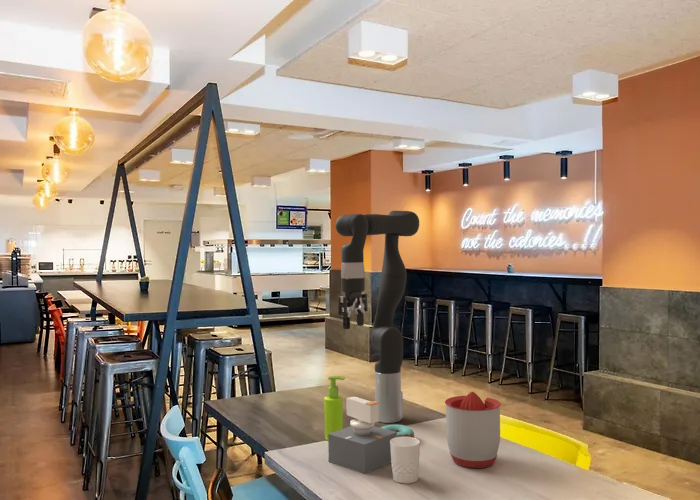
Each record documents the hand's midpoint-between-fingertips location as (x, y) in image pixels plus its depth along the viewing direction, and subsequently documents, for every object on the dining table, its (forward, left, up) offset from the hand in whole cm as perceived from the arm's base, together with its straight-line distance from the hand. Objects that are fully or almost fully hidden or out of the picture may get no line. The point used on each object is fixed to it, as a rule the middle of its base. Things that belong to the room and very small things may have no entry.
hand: (353, 327), depth 187 cm
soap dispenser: (+3, -6, -36) cm, 37 cm away
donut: (-8, +10, -36) cm, 39 cm away
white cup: (+14, +31, -36) cm, 50 cm away
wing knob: (+12, +14, -26) cm, 32 cm away
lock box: (+12, +14, -36) cm, 41 cm away
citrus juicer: (-9, +38, -36) cm, 53 cm away
